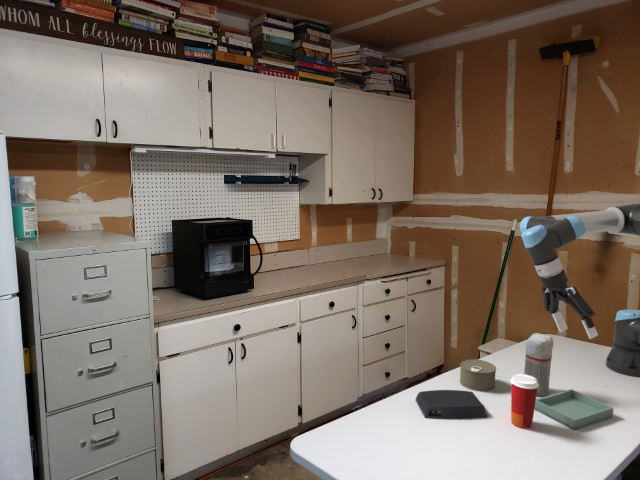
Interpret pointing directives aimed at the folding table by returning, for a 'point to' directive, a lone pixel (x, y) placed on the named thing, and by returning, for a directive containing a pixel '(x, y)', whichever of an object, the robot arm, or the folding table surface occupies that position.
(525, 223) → the robot arm
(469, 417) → the external hard drive
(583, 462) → the folding table surface
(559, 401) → the tray
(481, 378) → the can
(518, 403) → the paper cup
